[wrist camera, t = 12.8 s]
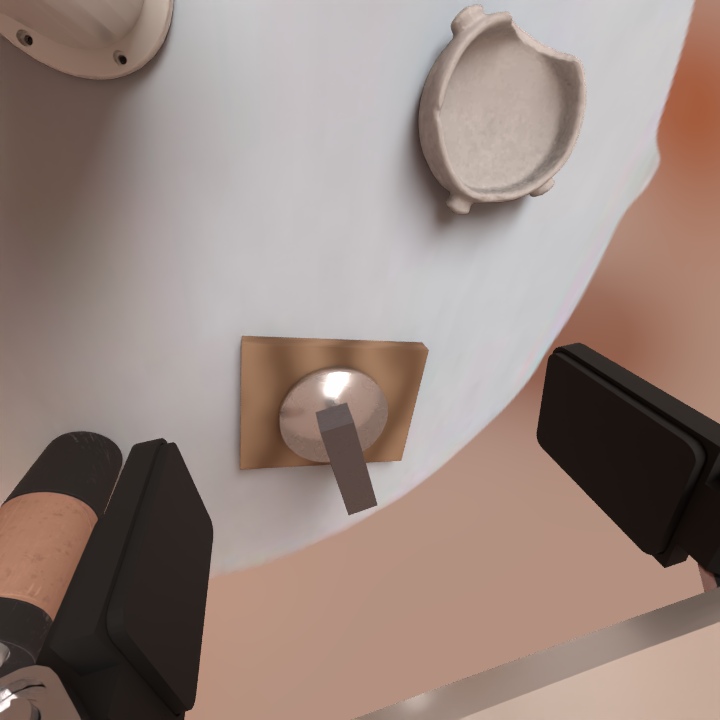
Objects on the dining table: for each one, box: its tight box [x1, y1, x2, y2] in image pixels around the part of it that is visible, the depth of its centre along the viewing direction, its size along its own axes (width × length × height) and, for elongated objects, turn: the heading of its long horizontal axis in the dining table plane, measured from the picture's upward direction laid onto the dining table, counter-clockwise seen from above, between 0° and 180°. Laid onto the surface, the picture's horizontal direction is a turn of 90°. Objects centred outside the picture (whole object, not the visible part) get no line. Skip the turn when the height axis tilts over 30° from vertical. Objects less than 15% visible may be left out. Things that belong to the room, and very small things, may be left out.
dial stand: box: [240, 336, 429, 469], centre depth 45 cm, size 20×16×2 cm
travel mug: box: [0, 432, 122, 678], centre depth 33 cm, size 8×8×20 cm
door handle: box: [279, 366, 388, 515], centre depth 40 cm, size 14×12×10 cm
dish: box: [419, 5, 586, 214], centre depth 33 cm, size 14×14×5 cm
